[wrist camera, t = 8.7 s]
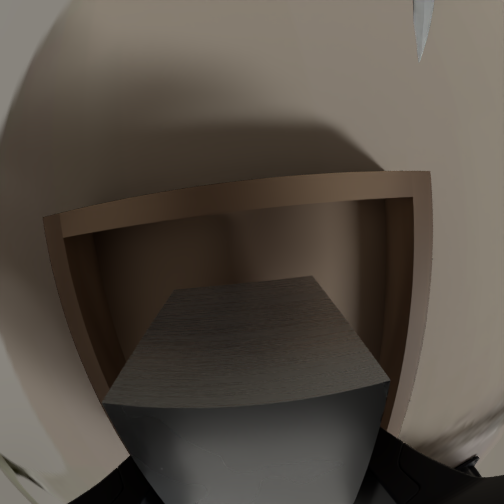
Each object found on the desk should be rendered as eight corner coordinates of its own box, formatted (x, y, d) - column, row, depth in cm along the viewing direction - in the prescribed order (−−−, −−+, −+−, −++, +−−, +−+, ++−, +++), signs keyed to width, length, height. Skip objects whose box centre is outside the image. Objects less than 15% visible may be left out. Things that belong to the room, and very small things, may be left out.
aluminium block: (311, 449, 10) (334, 544, 5) (218, 458, 10) (211, 554, 5) (312, 275, 8) (390, 379, 3) (174, 289, 8) (101, 403, 3)
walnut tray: (388, 173, 10) (430, 171, 7) (372, 423, 13) (390, 458, 10) (85, 209, 10) (42, 217, 7) (159, 445, 13) (149, 482, 10)
